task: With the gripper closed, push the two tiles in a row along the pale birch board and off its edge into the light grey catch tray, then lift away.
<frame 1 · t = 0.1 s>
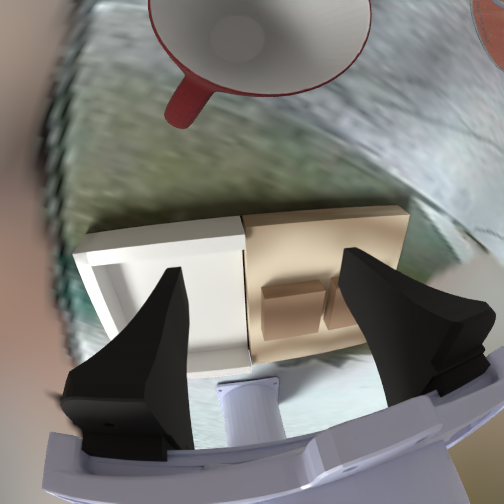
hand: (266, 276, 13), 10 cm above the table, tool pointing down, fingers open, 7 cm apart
canned food: (497, 27, 14), on the table
tile 2: (289, 305, 25), point 2 cm above the table, touching board
tile 1: (351, 295, 26), point 2 cm above the table, touching board
tray: (175, 303, 25), on the table
board: (319, 286, 27), on the table
mug: (227, 54, 16), on the table
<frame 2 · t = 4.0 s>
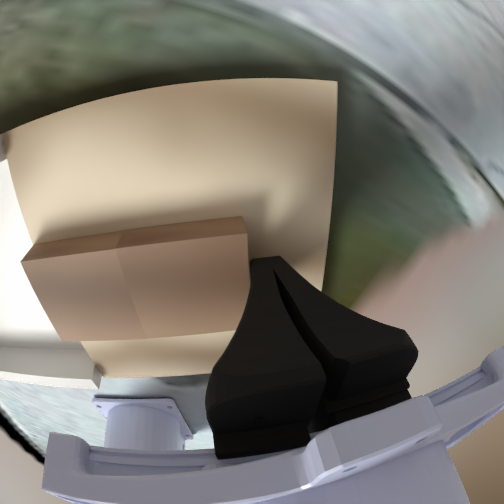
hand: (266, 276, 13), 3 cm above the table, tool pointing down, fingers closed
tile 2: (91, 282, 12), point 2 cm above the table, touching tile 1
tile 1: (189, 272, 13), point 2 cm above the table, touching gripper, tile 2
board: (179, 250, 15), on the table
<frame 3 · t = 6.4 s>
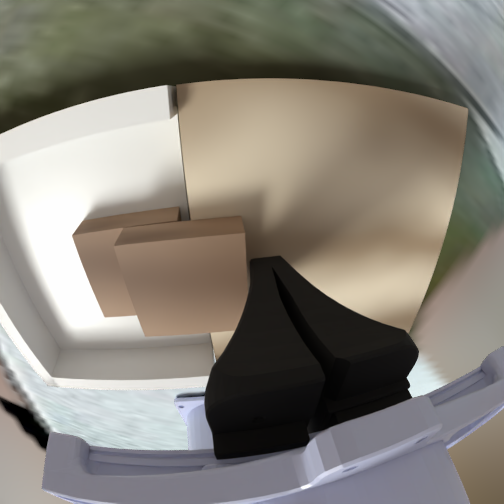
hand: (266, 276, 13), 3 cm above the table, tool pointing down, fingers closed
tile 2: (139, 258, 14), resting on tray
tile 1: (188, 271, 13), point 2 cm above the table
tray: (84, 262, 14), on the table
board: (329, 234, 15), on the table
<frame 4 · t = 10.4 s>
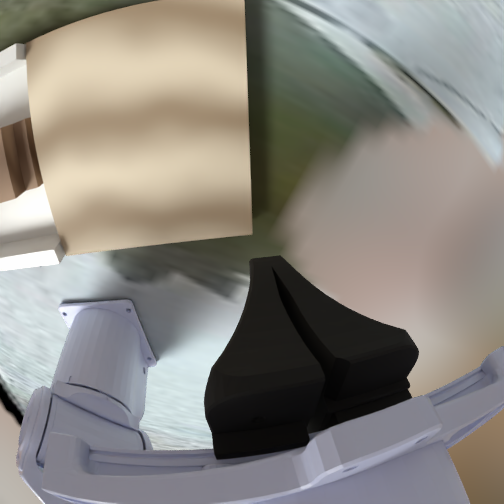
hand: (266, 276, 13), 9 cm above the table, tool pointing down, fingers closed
tile 2: (16, 156, 15), resting on tray, touching tile 1
board: (137, 124, 16), on the table
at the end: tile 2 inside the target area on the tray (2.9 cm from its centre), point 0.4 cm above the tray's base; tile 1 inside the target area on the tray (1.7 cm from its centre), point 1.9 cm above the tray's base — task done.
